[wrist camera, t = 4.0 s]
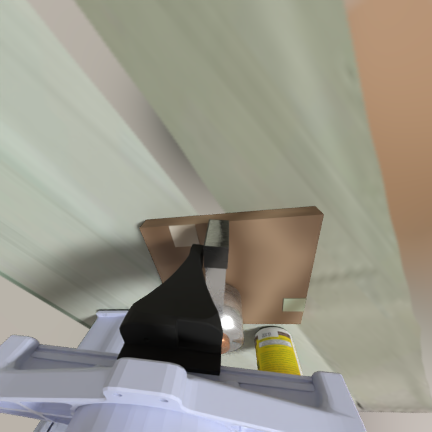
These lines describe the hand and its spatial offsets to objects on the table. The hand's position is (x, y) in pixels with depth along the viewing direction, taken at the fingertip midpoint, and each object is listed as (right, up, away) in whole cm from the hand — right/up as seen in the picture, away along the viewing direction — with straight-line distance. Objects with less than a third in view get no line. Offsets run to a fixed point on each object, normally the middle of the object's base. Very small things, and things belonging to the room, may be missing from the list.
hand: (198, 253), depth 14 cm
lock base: (+3, -3, +6) cm, 7 cm away
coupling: (+2, -3, +3) cm, 5 cm away
